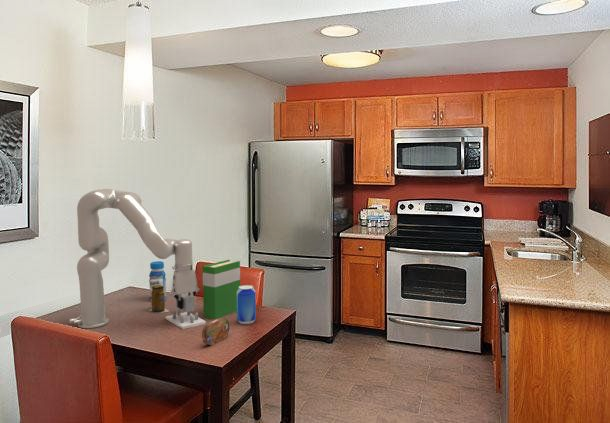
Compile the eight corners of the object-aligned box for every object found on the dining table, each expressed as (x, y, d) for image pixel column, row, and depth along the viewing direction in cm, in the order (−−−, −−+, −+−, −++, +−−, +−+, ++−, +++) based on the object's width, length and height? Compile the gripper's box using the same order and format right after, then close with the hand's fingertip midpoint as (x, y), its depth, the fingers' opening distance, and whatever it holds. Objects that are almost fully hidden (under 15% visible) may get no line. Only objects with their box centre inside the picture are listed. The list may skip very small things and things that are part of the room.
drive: (185, 312, 205) (185, 298, 205) (176, 307, 213) (175, 293, 212) (194, 310, 208) (194, 296, 207) (184, 305, 216) (184, 292, 215)
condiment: (162, 307, 232) (161, 283, 231) (169, 311, 226) (168, 287, 225) (148, 310, 228) (147, 286, 227) (154, 314, 221) (154, 289, 220)
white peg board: (182, 329, 201) (182, 319, 200) (165, 318, 214) (165, 310, 214) (205, 323, 208) (205, 314, 207) (187, 314, 221) (187, 305, 221)
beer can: (238, 325, 205) (237, 290, 204) (236, 319, 213) (235, 285, 212) (257, 323, 208) (256, 288, 206) (254, 318, 216) (253, 284, 214)
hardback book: (229, 307, 232) (228, 259, 230) (240, 309, 229) (239, 261, 226) (203, 316, 218) (202, 266, 215) (215, 319, 214) (214, 267, 211)
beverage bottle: (170, 299, 246) (168, 261, 244) (157, 303, 239) (156, 264, 237) (159, 296, 251) (158, 260, 249) (146, 300, 244) (145, 262, 242)
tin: (207, 348, 180) (206, 327, 179) (200, 346, 181) (200, 325, 181) (230, 335, 193) (229, 315, 193) (224, 334, 195) (223, 314, 194)
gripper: (169, 271, 200) (170, 313, 202) (204, 266, 211) (205, 305, 213) (162, 268, 206) (163, 309, 208) (197, 263, 217) (198, 302, 219)
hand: (185, 306), depth 210 cm, fingers closed on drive, 4 cm apart
